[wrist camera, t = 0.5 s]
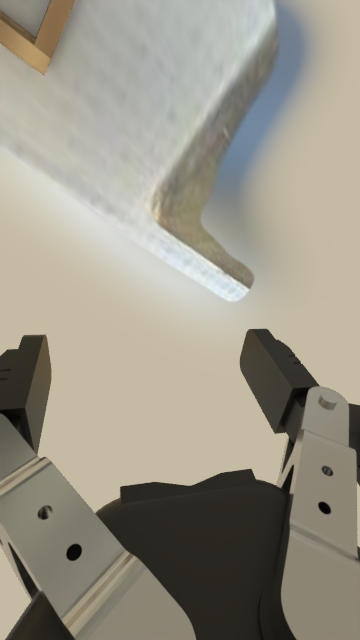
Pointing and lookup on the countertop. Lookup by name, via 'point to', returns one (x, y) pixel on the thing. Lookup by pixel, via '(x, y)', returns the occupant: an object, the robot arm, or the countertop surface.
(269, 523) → the robot arm
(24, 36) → the brown square frame
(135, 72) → the countertop surface
